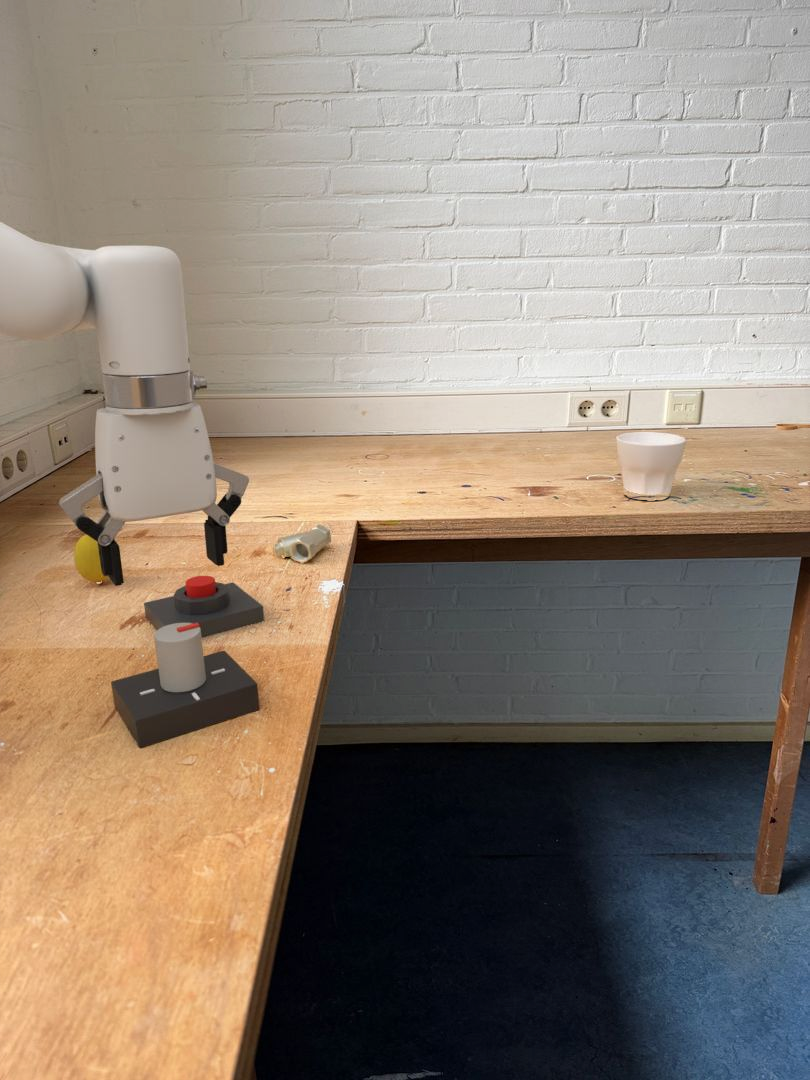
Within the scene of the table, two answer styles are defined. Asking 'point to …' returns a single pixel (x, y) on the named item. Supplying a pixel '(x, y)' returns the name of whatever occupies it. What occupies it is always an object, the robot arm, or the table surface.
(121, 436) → the robot arm
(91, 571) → the lemon
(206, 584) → the power button
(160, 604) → the switch block
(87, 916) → the table surface
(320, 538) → the pipe fitting
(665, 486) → the cup
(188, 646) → the timer dial
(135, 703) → the panel
